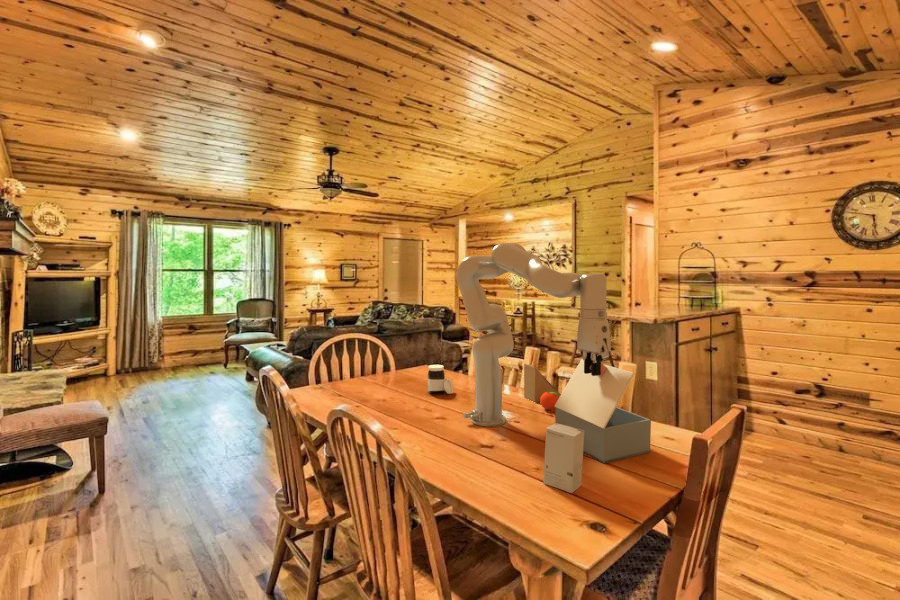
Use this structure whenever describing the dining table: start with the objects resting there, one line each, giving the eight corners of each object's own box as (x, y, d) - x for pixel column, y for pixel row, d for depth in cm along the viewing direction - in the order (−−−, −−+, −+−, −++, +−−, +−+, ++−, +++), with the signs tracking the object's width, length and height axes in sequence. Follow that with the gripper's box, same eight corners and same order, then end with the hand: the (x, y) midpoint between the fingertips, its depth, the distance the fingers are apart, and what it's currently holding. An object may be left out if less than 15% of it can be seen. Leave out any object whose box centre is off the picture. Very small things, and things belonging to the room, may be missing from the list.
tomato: (559, 407, 180) (559, 389, 179) (562, 412, 173) (562, 394, 172) (539, 406, 180) (539, 389, 180) (540, 412, 174) (541, 394, 173)
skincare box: (543, 484, 117) (543, 427, 116) (554, 475, 121) (554, 421, 120) (573, 494, 111) (574, 435, 110) (584, 485, 116) (584, 428, 115)
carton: (603, 463, 128) (604, 429, 127) (555, 437, 148) (555, 407, 147) (650, 452, 136) (650, 419, 135) (598, 428, 156) (598, 400, 155)
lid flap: (604, 429, 127) (594, 421, 126) (555, 407, 147) (546, 400, 146) (634, 373, 131) (625, 365, 129) (583, 359, 151) (574, 352, 149)
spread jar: (427, 389, 207) (426, 364, 206) (451, 388, 209) (451, 363, 208) (428, 396, 195) (428, 370, 195) (454, 395, 197) (454, 369, 196)
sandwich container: (566, 399, 191) (566, 363, 190) (535, 403, 185) (535, 367, 184) (554, 393, 199) (554, 360, 197) (523, 398, 193) (523, 363, 192)
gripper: (622, 316, 131) (621, 378, 133) (584, 311, 146) (583, 367, 147) (602, 317, 128) (601, 381, 130) (565, 312, 143) (565, 370, 144)
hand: (592, 373), depth 139 cm, fingers closed on lid flap, 2 cm apart
